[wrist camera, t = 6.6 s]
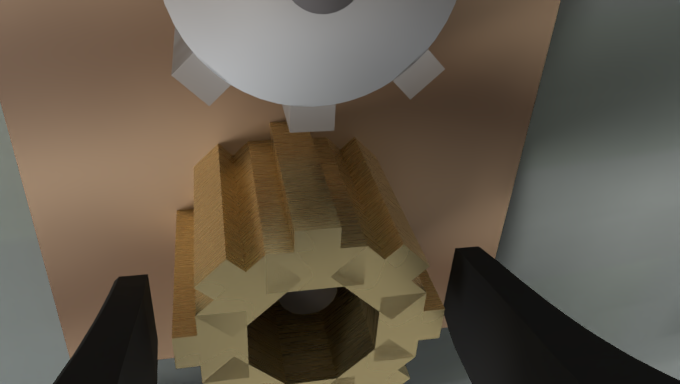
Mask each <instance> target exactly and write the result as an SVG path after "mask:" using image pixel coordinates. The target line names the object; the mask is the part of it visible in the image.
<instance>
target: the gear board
mask: <svg viewBox="0 0 680 384" xmlns="http://www.w3.org/2000/svg"><path fill="white" fill-rule="evenodd" d="M560 1H561V0H0V102H1V106H2V109H3V113H4V117H5V121H6V124H7V128H8V132H9V135H10V139H11V143H12V146H13V150H14V154H15V157H16V161H17V165H18V168H19V172H20V176H21V179H22V183H23V187H24V190H25V194H26V198H27V201H28V205H29V209H30V213H31V216H32V220H33V224H34V227H35V231H36V235H37V238H38V242H39V246H40V249H41V253H42V257H43V260H44V264H45V268H46V271H47V275H48V279H49V282H50V286H51V290H52V293H53V297H54V301H55V305H56V308H57V312H58V316H59V319H60V323H61V327H62V330H63V334H64V338H65V341H66V345H67V349H68V352H69V356H70V359H71V357H72V356H73V354H74V353H75V351H76V350H77V348H78V346H79V345H80V343H81V341H82V340H83V338H84V337H85V335H86V333H87V332H88V330H89V328H90V327H91V325H92V324H93V322H94V320H95V318H96V316H97V315H98V313H99V311H100V309H101V307H102V305H103V304H104V302H105V300H106V298H107V296H108V294H109V292H110V290H111V287H112V285H113V283H114V281H115V280H116V279H117V278H118V277H120V276H132V275H144V274H148V278H149V285H150V291H151V298H152V304H153V311H154V317H155V324H156V330H157V337H158V360H159V359H168V358H174V351H173V344H172V319H173V293H174V267H175V241H176V215H177V210H189V209H194V166H195V165H196V164H197V163H198V162H199V161H200V160H202V159H203V158H204V157H205V156H206V155H207V154H208V153H209V152H210V151H211V150H212V149H213V148H214V147H215V146H216V145H217V144H219V145H221V146H222V147H223V148H224V149H226V150H227V151H228V152H230V153H231V154H232V155H234V154H235V153H236V152H237V151H238V150H239V149H240V148H241V147H242V146H243V145H244V144H245V143H247V142H248V141H258V140H270V122H283V121H287V124H288V128H289V132H290V133H296V132H310V134H311V137H312V138H321V137H327V138H328V139H329V140H330V141H331V142H332V143H333V144H335V145H336V146H337V147H338V148H339V149H342V148H343V147H344V146H345V145H346V144H347V143H348V142H349V141H351V140H352V139H353V138H354V137H355V138H356V139H357V140H358V141H359V142H361V143H362V144H363V145H364V146H365V147H366V148H367V149H368V150H369V151H370V152H371V153H372V154H374V155H375V156H376V158H377V160H378V162H379V164H380V166H381V168H382V170H383V172H384V174H385V176H386V178H387V180H388V182H389V184H390V186H391V188H392V190H393V192H394V194H395V196H396V198H397V200H398V202H399V204H400V206H401V208H402V210H403V212H404V214H405V216H406V219H407V221H408V223H409V225H410V227H411V229H412V231H413V233H414V235H415V237H416V239H417V241H418V243H419V245H420V247H421V249H422V251H423V253H424V255H425V257H426V259H427V261H428V263H429V265H430V267H428V268H427V269H426V270H427V272H428V274H429V277H430V279H431V281H432V283H433V285H434V287H435V289H436V291H437V293H438V295H439V297H440V299H441V301H442V304H443V305H444V300H445V295H446V291H447V286H448V281H449V276H450V271H451V266H452V261H453V257H454V252H455V248H464V247H476V246H479V247H480V248H482V249H483V250H484V251H485V252H487V253H488V254H489V255H490V256H492V257H493V258H494V259H495V257H496V253H497V249H498V245H499V241H500V237H501V233H502V229H503V225H504V221H505V217H506V214H507V210H508V206H509V202H510V198H511V194H512V190H513V186H514V182H515V178H516V174H517V170H518V166H519V162H520V158H521V155H522V151H523V147H524V143H525V139H526V135H527V131H528V127H529V123H530V119H531V115H532V111H533V107H534V103H535V100H536V96H537V92H538V88H539V84H540V80H541V76H542V72H543V68H544V64H545V60H546V56H547V52H548V48H549V45H550V41H551V37H552V33H553V29H554V25H555V21H556V17H557V13H558V9H559V5H560ZM336 293H337V287H334V288H324V289H314V290H303V291H293V292H287V293H286V294H284V295H283V296H282V297H281V298H280V299H279V302H280V304H281V305H282V307H283V308H284V309H286V310H287V311H289V312H292V313H295V314H303V315H304V314H312V313H315V312H318V311H320V310H322V309H324V308H326V307H327V306H328V305H329V304H330V303H331V302H332V301H333V300H334V298H335V296H336ZM447 327H448V326H447V322H446V319H445V316H444V317H443V322H442V327H441V328H447Z"/></svg>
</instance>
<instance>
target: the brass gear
mask: <svg viewBox="0 0 680 384" xmlns="http://www.w3.org/2000/svg"><path fill="white" fill-rule="evenodd" d="M428 267H430V265H429V263H428V261H427V259H426V257H425V255H424V253H423V251H422V249H421V247H420V245H419V243H418V241H417V239H416V237H415V235H414V233H413V231H412V229H411V227H410V225H409V223H408V221H407V219H406V216H405V214H404V212H403V210H402V208H401V206H400V204H399V202H398V200H397V198H396V196H395V194H394V192H393V190H392V188H391V186H390V184H389V182H388V180H387V178H386V176H385V174H384V172H383V170H382V168H381V166H380V164H379V162H378V160H377V158H376V156H375V155H374V154H372V153H371V152H370V151H369V150H368V149H367V148H366V147H365V146H364V145H363V144H362V143H361V142H359V141H358V140H357V139H356V138H355V137H354V138H353V139H352V140H351V141H349V142H348V143H347V144H346V145H345V146H344V147H343V148H342V149H339V148H338V147H337V146H336V145H335V144H333V143H332V142H331V141H330V140H329V139H328V138H327V137H321V138H312V137H311V134H310V132H296V133H290V132H289V128H288V124H287V121H283V122H270V140H258V141H248V142H247V143H245V144H244V145H243V146H242V147H241V148H240V149H239V150H238V151H237V152H236V153H235V154H234V155H232V154H231V153H230V152H228V151H227V150H226V149H224V148H223V147H222V146H221V145H219V144H217V145H216V146H215V147H214V148H213V149H212V150H211V151H210V152H209V153H208V154H207V155H206V156H205V157H204V158H203V159H202V160H200V161H199V162H198V163H197V164H196V165H195V166H194V209H189V210H177V215H176V241H175V267H174V293H173V319H172V344H173V351H174V358H175V365H176V369H179V368H187V367H196V366H201V375H202V383H203V384H403V383H405V382H406V381H407V380H409V379H410V376H409V373H408V371H407V368H406V365H405V364H406V363H408V362H409V361H410V360H412V359H413V358H414V357H415V356H416V350H417V345H418V340H425V339H434V338H439V337H440V332H441V327H442V322H443V317H444V312H445V308H444V306H443V304H442V301H441V299H440V297H439V295H438V293H437V291H436V289H435V287H434V285H433V283H432V281H431V279H430V277H429V274H428V272H427V270H426V269H427V268H428ZM334 287H337V293H336V296H335V298H334V300H333V301H332V302H331V303H330V304H329V305H328V306H327V307H326V308H324V309H322V310H320V311H318V312H315V313H312V314H304V315H303V314H295V313H292V312H289V311H287V310H286V309H284V308H283V307H282V305H281V304H280V302H279V299H280V298H281V297H282V296H283V295H284V294H286V293H287V292H293V291H303V290H314V289H324V288H334Z"/></svg>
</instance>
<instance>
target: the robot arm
mask: <svg viewBox="0 0 680 384" xmlns="http://www.w3.org/2000/svg"><path fill="white" fill-rule="evenodd" d="M443 306H444V308H445V312H444V316H445V319H446V322H447V326H448V329H449V332H450V335H451V338H452V341H453V343H454V346H455V349H456V351H457V353H458V355H459V357H460V359H461V361H462V364H463V366H464V368H465V370H466V372H467V374H468V376H469V378H470V380H471V382H472V384H680V380H677V379H675V378H673V377H671V376H669V375H667V374H665V373H663V372H661V371H659V370H657V369H655V368H653V367H651V366H649V365H647V364H645V363H643V362H641V361H639V360H637V359H636V358H634V357H632V356H630V355H628V354H627V353H625V352H623V351H621V350H620V349H618V348H616V347H615V346H613V345H611V344H610V343H608V342H606V341H605V340H603V339H601V338H600V337H598V336H596V335H595V334H593V333H592V332H590V331H589V330H587V329H586V328H584V327H583V326H581V325H580V324H578V323H577V322H575V321H574V320H573V319H571V318H570V317H568V316H567V315H565V314H564V313H563V312H561V311H560V310H558V309H557V308H556V307H554V306H553V305H552V304H550V303H549V302H548V301H546V300H545V299H544V298H542V297H541V296H540V295H539V294H537V293H536V292H535V291H534V290H532V289H531V288H530V287H528V286H527V285H526V284H525V283H523V282H522V281H521V280H520V279H519V278H517V277H516V276H515V275H514V274H512V273H511V272H510V271H509V270H508V269H506V268H505V267H504V266H503V265H501V264H500V263H499V262H498V261H497V260H495V259H494V258H493V257H492V256H490V255H489V254H488V253H487V252H485V251H484V250H483V249H482V248H480V247H479V246H476V247H464V248H455V252H454V257H453V261H452V266H451V271H450V276H449V281H448V286H447V291H446V295H445V300H444V305H443ZM157 365H158V337H157V330H156V324H155V317H154V311H153V304H152V298H151V291H150V285H149V278H148V274H144V275H132V276H120V277H118V278H117V279H116V280H115V281H114V283H113V285H112V287H111V290H110V292H109V294H108V296H107V298H106V300H105V302H104V304H103V305H102V307H101V309H100V311H99V313H98V315H97V316H96V318H95V320H94V322H93V324H92V325H91V327H90V328H89V330H88V332H87V333H86V335H85V337H84V338H83V340H82V341H81V343H80V345H79V346H78V348H77V350H76V351H75V353H74V354H73V356H72V357H71V359H70V360H69V361H68V363H67V364H66V366H65V367H64V369H63V370H62V371H61V373H60V374H59V376H58V377H57V379H56V380H55V382H54V383H53V384H157Z"/></svg>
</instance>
